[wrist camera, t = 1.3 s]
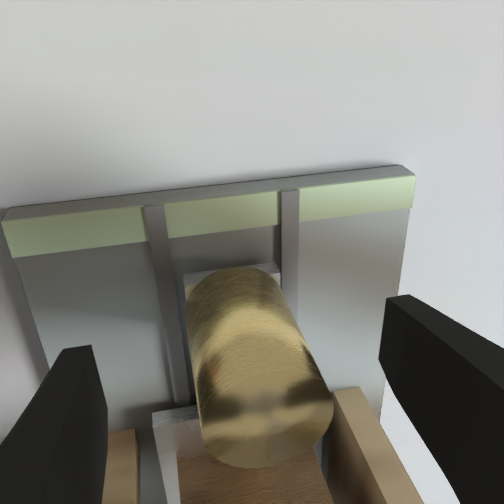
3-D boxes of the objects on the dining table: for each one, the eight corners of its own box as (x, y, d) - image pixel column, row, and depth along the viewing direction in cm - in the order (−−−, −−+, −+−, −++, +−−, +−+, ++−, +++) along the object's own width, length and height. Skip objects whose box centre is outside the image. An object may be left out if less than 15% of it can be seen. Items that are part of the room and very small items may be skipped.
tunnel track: (356, 521, 23) (432, 708, 17) (123, 575, 21) (119, 805, 16) (401, 165, 14) (592, 297, 8) (8, 208, 13) (-107, 415, 7)
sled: (312, 520, 20) (354, 650, 16) (179, 551, 19) (190, 696, 15) (326, 242, 14) (403, 348, 10) (124, 269, 13) (119, 398, 9)
